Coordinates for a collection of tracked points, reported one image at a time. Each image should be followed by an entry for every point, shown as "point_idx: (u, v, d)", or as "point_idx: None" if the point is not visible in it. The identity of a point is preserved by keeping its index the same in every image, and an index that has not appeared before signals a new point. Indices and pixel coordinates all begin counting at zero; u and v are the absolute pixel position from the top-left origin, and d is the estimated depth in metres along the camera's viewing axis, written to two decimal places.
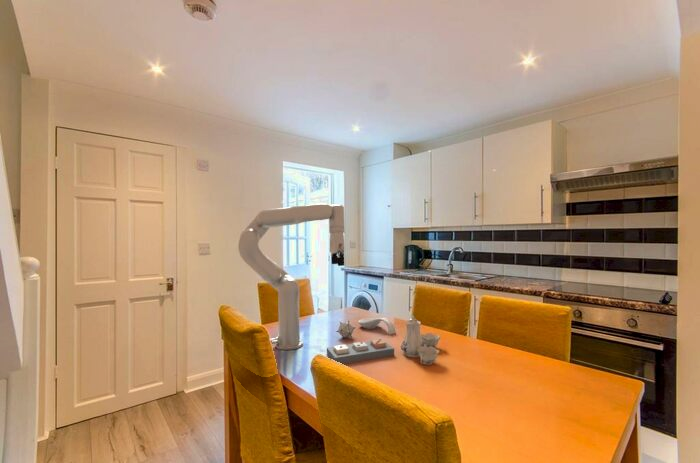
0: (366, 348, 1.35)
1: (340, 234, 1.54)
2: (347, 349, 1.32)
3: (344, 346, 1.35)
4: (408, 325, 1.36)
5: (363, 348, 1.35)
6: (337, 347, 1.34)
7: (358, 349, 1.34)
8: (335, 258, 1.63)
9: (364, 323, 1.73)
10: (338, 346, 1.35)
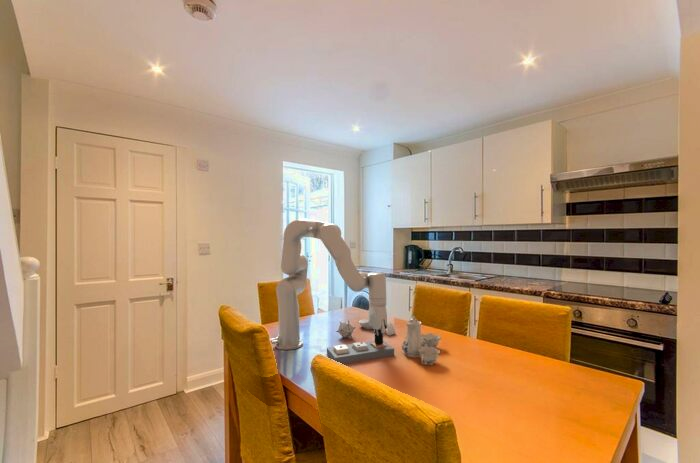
0: (366, 348, 1.35)
1: (382, 308, 1.36)
2: (347, 349, 1.32)
3: (344, 346, 1.35)
4: (409, 325, 1.36)
5: (363, 348, 1.35)
6: (337, 347, 1.34)
7: (358, 349, 1.34)
8: None
9: (364, 323, 1.72)
10: (338, 346, 1.35)
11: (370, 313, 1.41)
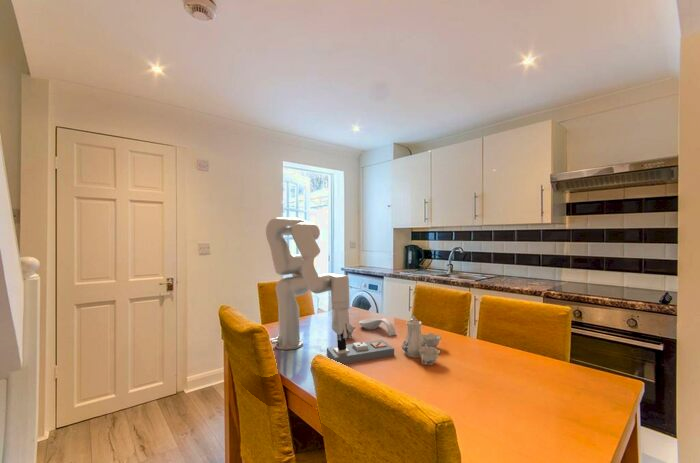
0: (366, 348, 1.35)
1: (344, 312, 1.30)
2: (347, 351, 1.32)
3: None
4: (409, 325, 1.36)
5: (363, 348, 1.35)
6: (337, 349, 1.34)
7: (358, 349, 1.34)
8: None
9: (364, 324, 1.71)
10: None
11: (333, 317, 1.35)
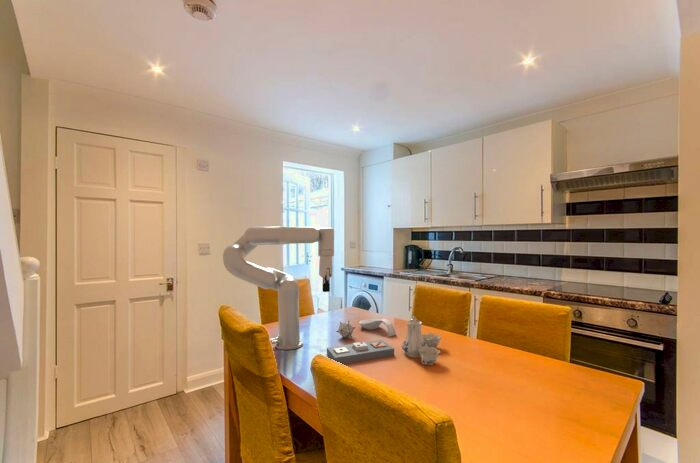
0: (366, 348, 1.35)
1: (328, 258, 1.50)
2: (347, 352, 1.32)
3: (344, 349, 1.35)
4: (409, 325, 1.36)
5: (363, 348, 1.35)
6: (337, 350, 1.34)
7: (358, 349, 1.34)
8: None
9: (364, 324, 1.71)
10: (338, 349, 1.35)
11: (319, 264, 1.56)
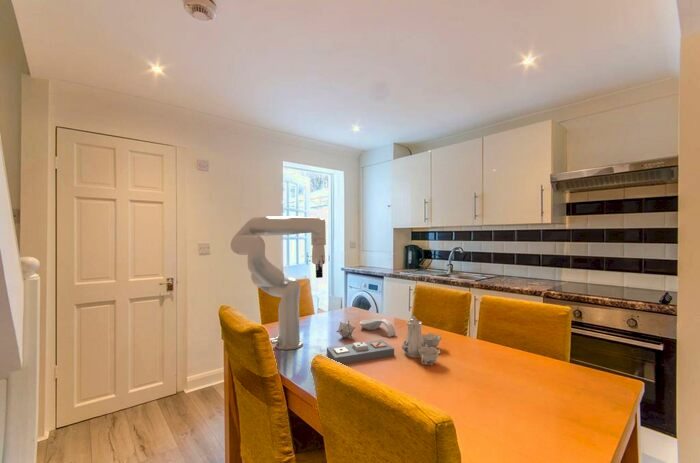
0: (366, 348, 1.35)
1: (321, 247, 1.64)
2: (347, 352, 1.32)
3: (344, 349, 1.35)
4: (409, 325, 1.36)
5: (363, 348, 1.35)
6: (337, 350, 1.34)
7: (358, 349, 1.34)
8: None
9: (364, 324, 1.71)
10: (338, 349, 1.35)
11: (312, 252, 1.69)
